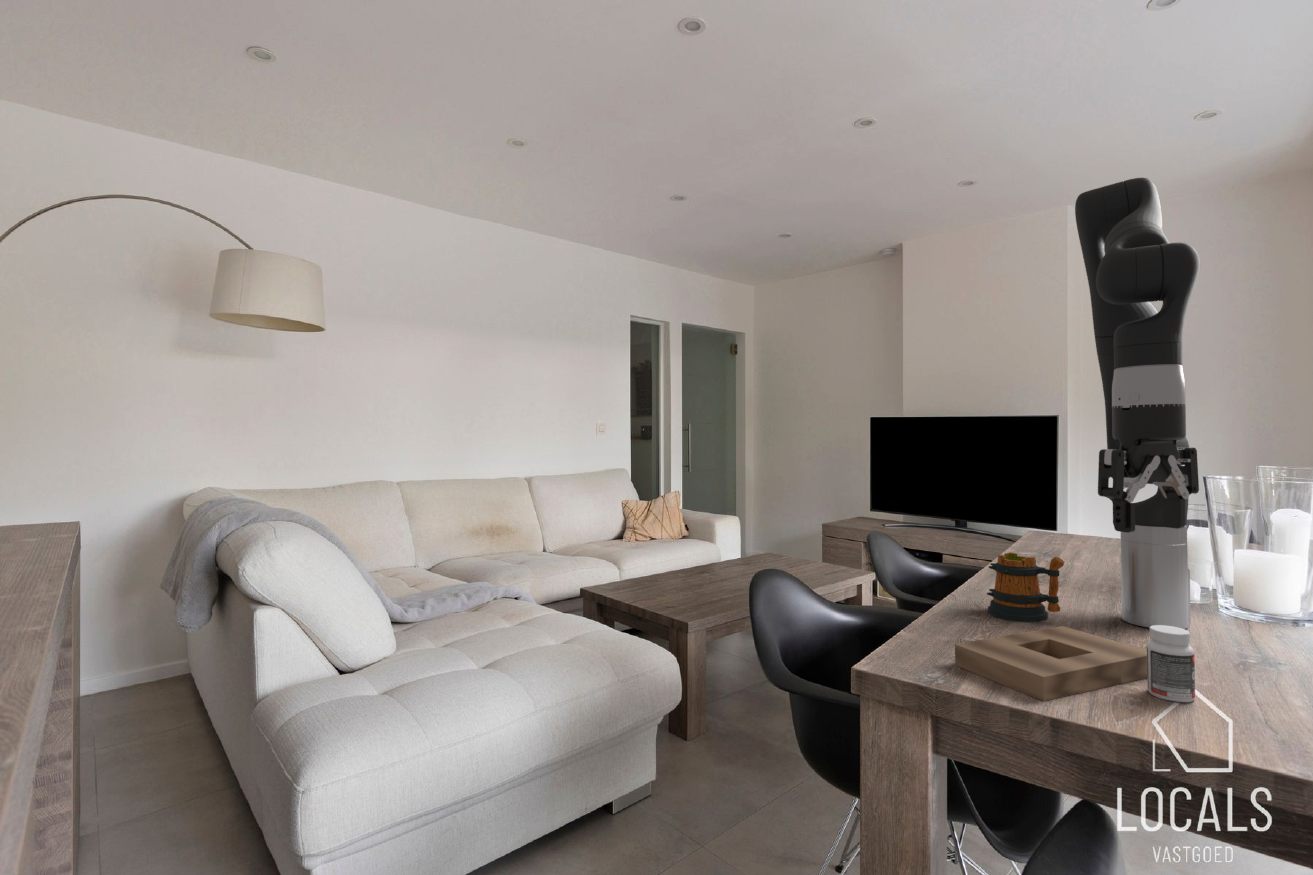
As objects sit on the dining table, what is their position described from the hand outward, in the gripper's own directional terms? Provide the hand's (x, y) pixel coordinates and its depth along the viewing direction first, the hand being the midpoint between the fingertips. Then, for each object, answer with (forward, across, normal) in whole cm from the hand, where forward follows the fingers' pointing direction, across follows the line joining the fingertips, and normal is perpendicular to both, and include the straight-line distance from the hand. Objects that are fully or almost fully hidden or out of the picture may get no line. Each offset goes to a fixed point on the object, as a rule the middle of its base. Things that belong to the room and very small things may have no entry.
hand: (1149, 529), depth 84 cm
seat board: (+21, +5, -10) cm, 24 cm away
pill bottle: (+21, -1, +2) cm, 21 cm away
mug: (+21, -14, -32) cm, 41 cm away
